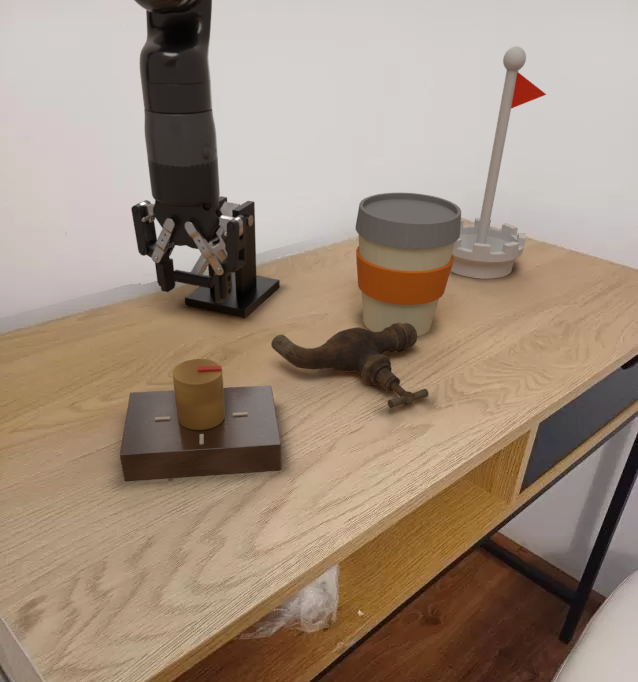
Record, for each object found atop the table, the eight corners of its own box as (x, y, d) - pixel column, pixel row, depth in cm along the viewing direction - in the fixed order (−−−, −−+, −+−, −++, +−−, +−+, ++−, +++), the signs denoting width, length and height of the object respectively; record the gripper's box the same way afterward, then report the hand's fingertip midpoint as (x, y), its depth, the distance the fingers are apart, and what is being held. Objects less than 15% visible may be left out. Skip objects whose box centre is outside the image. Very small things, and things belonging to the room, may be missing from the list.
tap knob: (177, 431, 58) (171, 382, 55) (178, 404, 62) (172, 356, 59) (225, 428, 59) (222, 379, 56) (224, 402, 63) (221, 354, 59)
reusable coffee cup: (411, 296, 91) (425, 188, 83) (464, 334, 82) (485, 217, 74) (333, 310, 87) (338, 197, 78) (379, 352, 78) (391, 230, 69)
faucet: (383, 332, 82) (463, 399, 73) (269, 361, 73) (344, 441, 64) (391, 299, 79) (476, 365, 70) (273, 325, 70) (352, 404, 61)
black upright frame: (245, 318, 84) (241, 221, 77) (185, 305, 87) (175, 210, 79) (279, 287, 92) (279, 196, 85) (224, 276, 95) (219, 187, 88)
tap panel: (124, 481, 57) (119, 453, 55) (134, 417, 65) (129, 390, 63) (281, 470, 59) (281, 443, 57) (271, 409, 67) (271, 383, 65)
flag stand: (420, 267, 100) (450, 45, 83) (456, 244, 109) (489, 39, 92) (499, 288, 95) (549, 54, 77) (530, 262, 103) (581, 47, 86)
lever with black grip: (211, 293, 78) (206, 279, 76) (176, 286, 80) (169, 272, 78) (253, 220, 84) (249, 205, 82) (219, 214, 85) (215, 199, 83)
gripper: (257, 154, 71) (260, 294, 80) (145, 139, 75) (161, 274, 84) (224, 170, 65) (232, 318, 75) (105, 153, 69) (127, 296, 79)
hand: (194, 294), depth 79 cm, fingers open, 7 cm apart
